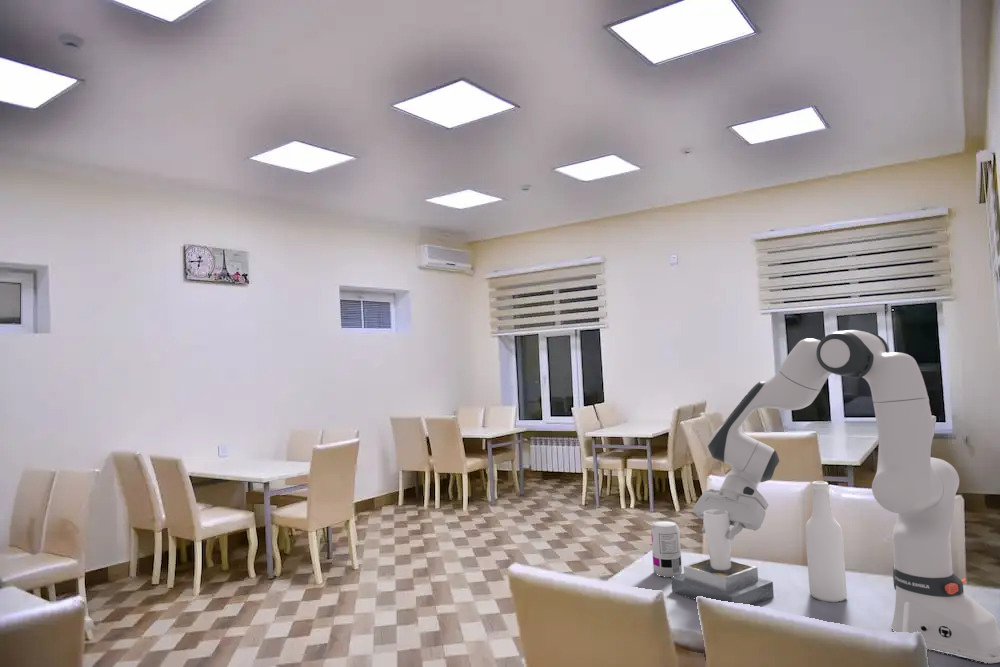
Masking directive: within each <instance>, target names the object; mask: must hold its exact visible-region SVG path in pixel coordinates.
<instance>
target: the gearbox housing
mask: <svg viewBox="0 0 1000 667" xmlns="http://www.w3.org/2000/svg"><path fill="white" fill-rule="evenodd" d="M670 579H671V580H670V581H671V592H672V593H674V592H675V593H674V594H676V593H677V595H679V594H680V595H679V596H682V597H685V596H686V598H688V597H689V599H691V598H695V600H694V601H696V597H697V596H703V597H706V598H711V599H716V600H721V601H728V602H734V603H743V604H750V605H753V606H754V605H755V606H756V605H757V604H760V603H762V602H765V601H767V600H769V599H771V598H774V596H775V595H774V584H773V583H774V582H773V581H772V580H768V579H764V578H762V577H759V572H758V567H757V566H755V565H752V564H748V563H744V562H740V561H736V560H734V559H731V568H730V569H728V570H715V569H713V568H712V567H711V564H710V557H707V558H704V559H701V560H697V561H695V562H693V563H689V564H686V565H683V573H681V574H680V575H677V576H674V577H671V578H670Z"/></svg>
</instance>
